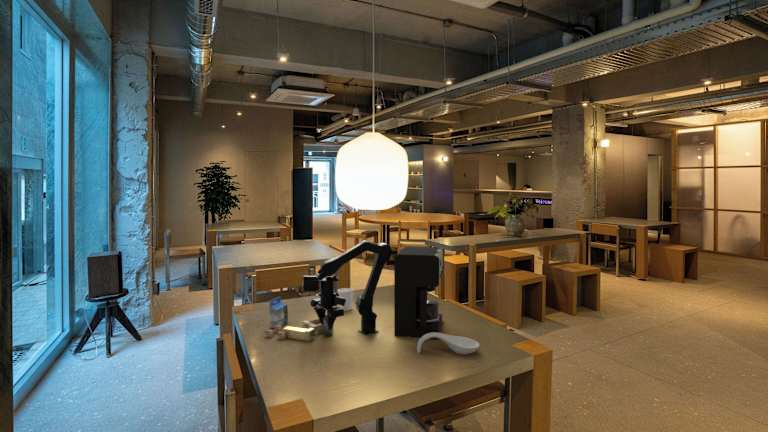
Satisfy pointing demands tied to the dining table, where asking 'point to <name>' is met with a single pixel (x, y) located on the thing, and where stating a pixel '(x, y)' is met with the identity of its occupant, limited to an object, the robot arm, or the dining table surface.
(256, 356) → the dining table surface
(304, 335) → the tan rectangular block
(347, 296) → the white cup
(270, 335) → the pin guide
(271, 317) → the label tape box
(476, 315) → the dining table surface
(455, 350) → the spoon rest
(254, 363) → the dining table surface
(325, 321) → the black cylinder
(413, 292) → the coffee maker
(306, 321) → the dock block
